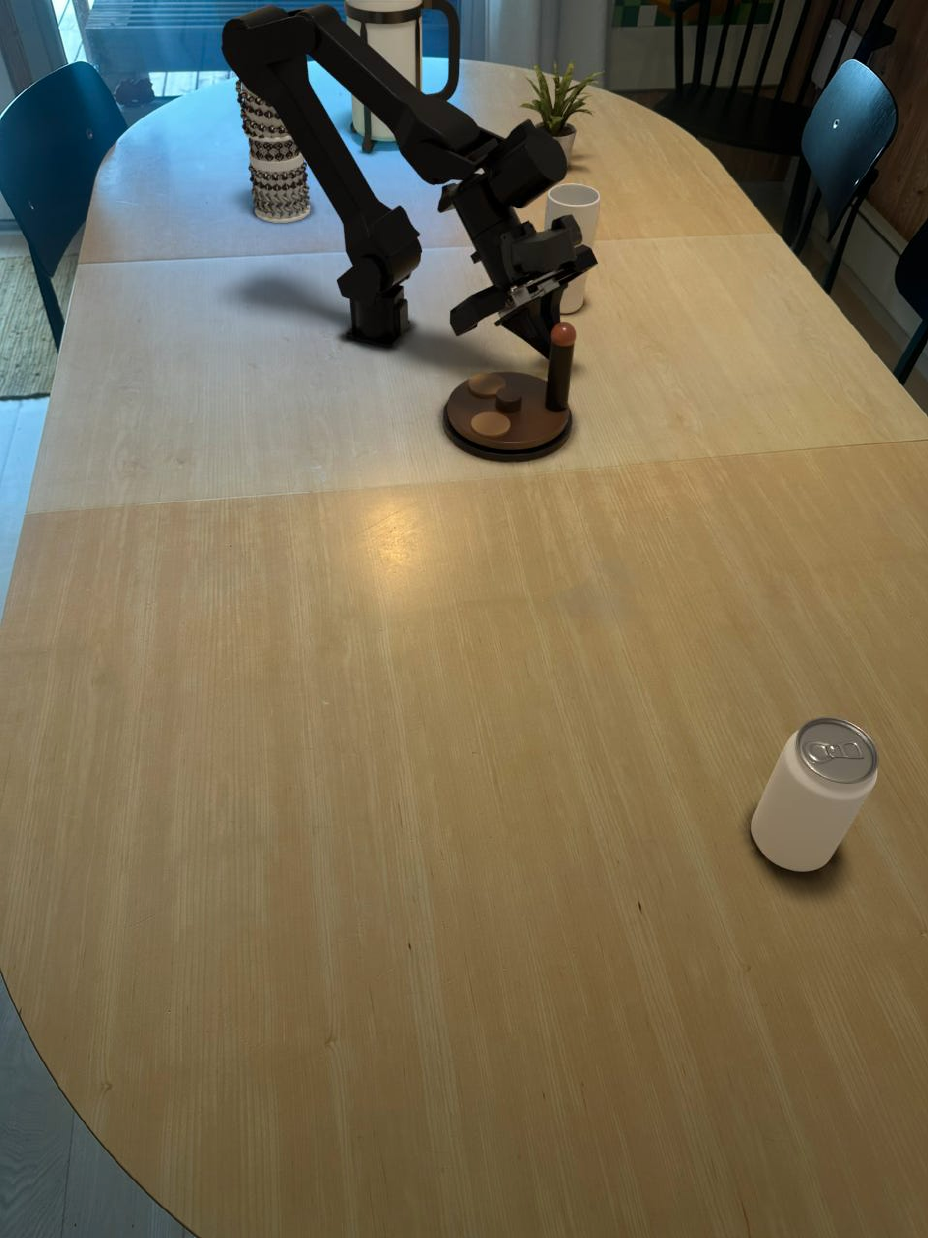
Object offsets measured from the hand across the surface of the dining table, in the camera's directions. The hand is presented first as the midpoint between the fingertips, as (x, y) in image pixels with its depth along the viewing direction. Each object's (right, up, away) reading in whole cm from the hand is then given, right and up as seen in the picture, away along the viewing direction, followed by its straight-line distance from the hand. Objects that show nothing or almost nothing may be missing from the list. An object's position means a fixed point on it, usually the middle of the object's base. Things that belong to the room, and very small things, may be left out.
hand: (558, 359), depth 109 cm
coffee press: (-23, +55, +60) cm, 84 cm away
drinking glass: (+3, +13, +22) cm, 26 cm away
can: (+15, -46, -33) cm, 59 cm away
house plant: (+4, +45, +52) cm, 69 cm away
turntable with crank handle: (-6, -5, +3) cm, 8 cm away
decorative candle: (-38, +33, +40) cm, 65 cm away
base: (-6, -6, +4) cm, 9 cm away
